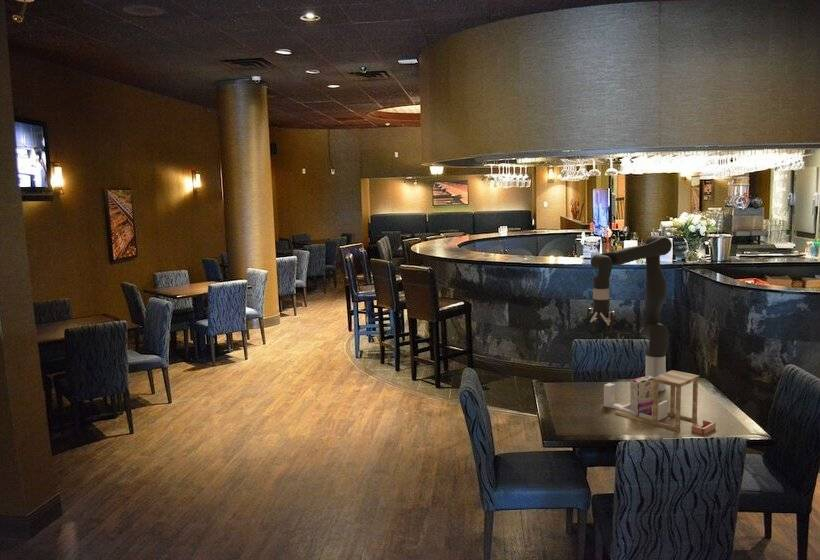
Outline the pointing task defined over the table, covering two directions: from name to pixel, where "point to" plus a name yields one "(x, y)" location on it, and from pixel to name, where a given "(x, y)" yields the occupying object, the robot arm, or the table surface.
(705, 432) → the tray
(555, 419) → the table surface
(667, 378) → the tunnel
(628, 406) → the sled
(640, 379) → the candy bar box
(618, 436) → the table surface
